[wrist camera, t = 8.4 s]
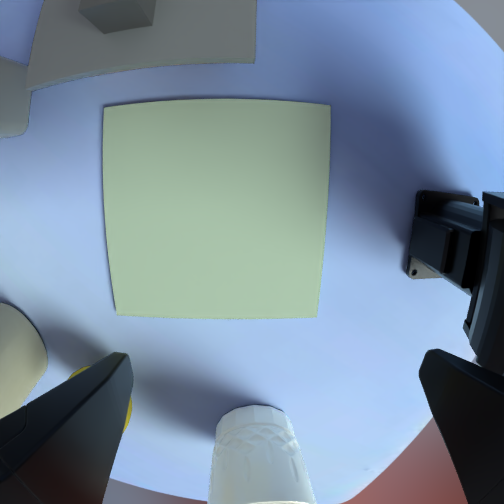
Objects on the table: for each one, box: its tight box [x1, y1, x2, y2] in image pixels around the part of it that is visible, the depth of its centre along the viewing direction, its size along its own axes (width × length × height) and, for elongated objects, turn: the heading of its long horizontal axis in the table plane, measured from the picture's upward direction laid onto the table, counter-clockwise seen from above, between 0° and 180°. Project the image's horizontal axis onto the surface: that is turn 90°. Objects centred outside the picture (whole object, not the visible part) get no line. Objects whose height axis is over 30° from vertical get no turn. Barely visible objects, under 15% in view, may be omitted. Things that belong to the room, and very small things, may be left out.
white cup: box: [208, 405, 317, 504], centre depth 19 cm, size 8×8×10 cm
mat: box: [103, 99, 331, 319], centre depth 18 cm, size 14×14×1 cm
